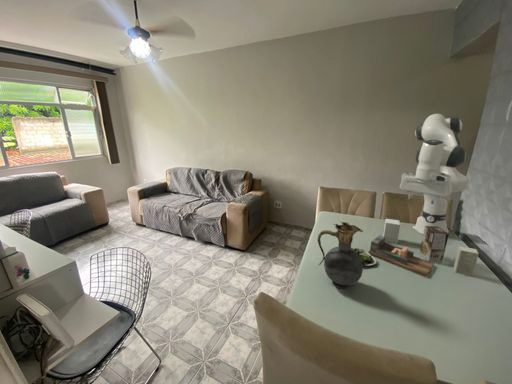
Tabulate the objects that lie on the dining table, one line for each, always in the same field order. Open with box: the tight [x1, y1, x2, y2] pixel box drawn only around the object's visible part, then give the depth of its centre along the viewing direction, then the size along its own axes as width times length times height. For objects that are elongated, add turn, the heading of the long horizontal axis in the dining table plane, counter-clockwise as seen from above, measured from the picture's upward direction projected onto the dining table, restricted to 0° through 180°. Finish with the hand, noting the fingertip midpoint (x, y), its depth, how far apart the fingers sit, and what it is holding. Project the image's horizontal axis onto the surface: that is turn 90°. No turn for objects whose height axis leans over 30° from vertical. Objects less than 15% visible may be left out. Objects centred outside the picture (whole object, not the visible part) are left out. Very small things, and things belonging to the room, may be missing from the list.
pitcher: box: [317, 221, 364, 289], centre depth 93 cm, size 11×19×30 cm, turn 65°
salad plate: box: [351, 247, 377, 269], centre depth 115 cm, size 19×18×5 cm
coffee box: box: [419, 226, 450, 263], centre depth 111 cm, size 9×6×16 cm
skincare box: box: [453, 245, 479, 277], centre depth 100 cm, size 6×4×12 cm
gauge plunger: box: [391, 246, 409, 258], centre depth 111 cm, size 8×6×5 cm
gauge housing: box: [367, 234, 435, 278], centre depth 111 cm, size 13×26×8 cm, turn 39°
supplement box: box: [382, 218, 401, 245], centre depth 130 cm, size 7×7×13 cm
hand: (421, 201), depth 108 cm, fingers open, 8 cm apart
